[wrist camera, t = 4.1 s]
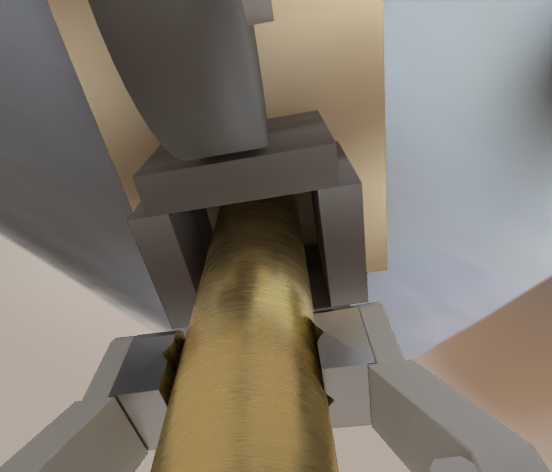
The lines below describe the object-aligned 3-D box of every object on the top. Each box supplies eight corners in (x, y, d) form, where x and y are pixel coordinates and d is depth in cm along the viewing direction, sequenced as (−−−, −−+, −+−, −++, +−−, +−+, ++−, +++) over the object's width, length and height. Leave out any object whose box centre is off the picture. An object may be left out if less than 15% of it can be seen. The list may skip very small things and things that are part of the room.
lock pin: (213, 177, 14) (54, 626, 4) (291, 164, 14) (359, 601, 3) (231, 243, 16) (155, 694, 5) (301, 233, 15) (370, 680, 5)
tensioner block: (69, -82, 13) (-445, -344, 4) (348, -144, 12) (601, -661, 3) (186, 253, 20) (113, 455, 11) (366, 225, 20) (457, 416, 10)
